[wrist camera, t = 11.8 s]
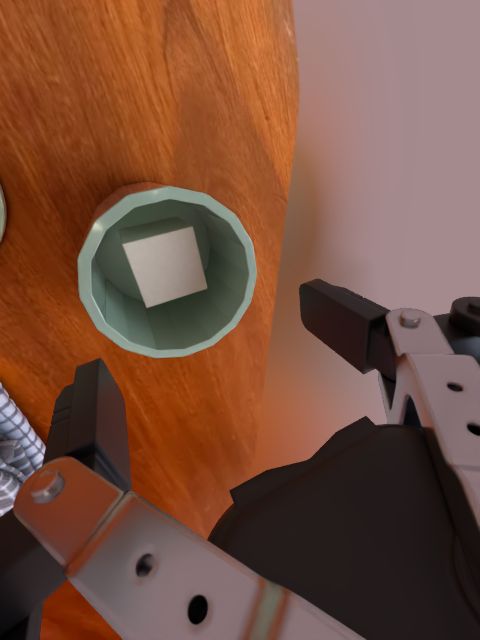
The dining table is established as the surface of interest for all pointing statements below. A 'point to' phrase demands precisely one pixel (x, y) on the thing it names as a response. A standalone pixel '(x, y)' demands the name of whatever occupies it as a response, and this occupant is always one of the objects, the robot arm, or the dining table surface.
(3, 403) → the towel
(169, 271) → the block
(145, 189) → the pot
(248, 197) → the dining table surface
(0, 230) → the lid
